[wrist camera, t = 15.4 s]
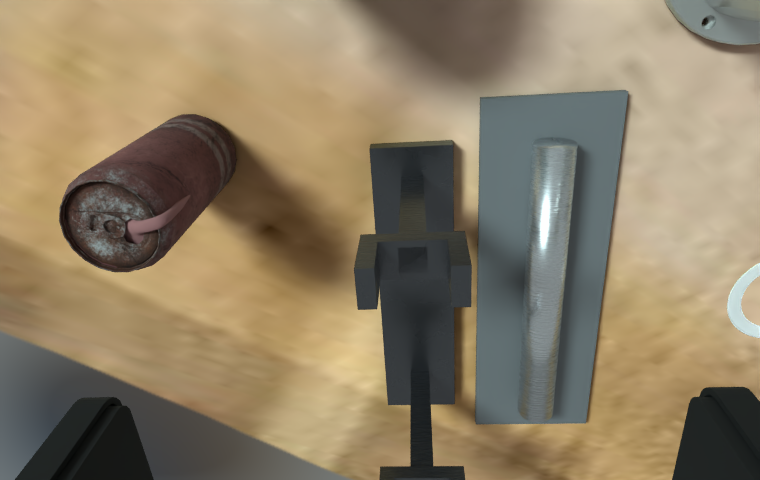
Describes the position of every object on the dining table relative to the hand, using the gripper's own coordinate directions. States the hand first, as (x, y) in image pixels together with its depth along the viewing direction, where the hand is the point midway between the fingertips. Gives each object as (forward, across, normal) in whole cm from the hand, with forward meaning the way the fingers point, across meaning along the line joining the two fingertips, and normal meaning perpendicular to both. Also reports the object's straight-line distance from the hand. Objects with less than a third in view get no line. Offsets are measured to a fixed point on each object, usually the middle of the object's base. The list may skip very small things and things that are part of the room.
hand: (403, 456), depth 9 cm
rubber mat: (+33, -10, +16) cm, 38 cm away
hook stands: (+33, 0, +16) cm, 37 cm away
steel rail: (+31, -10, +16) cm, 36 cm away
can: (+34, +16, +4) cm, 37 cm away
